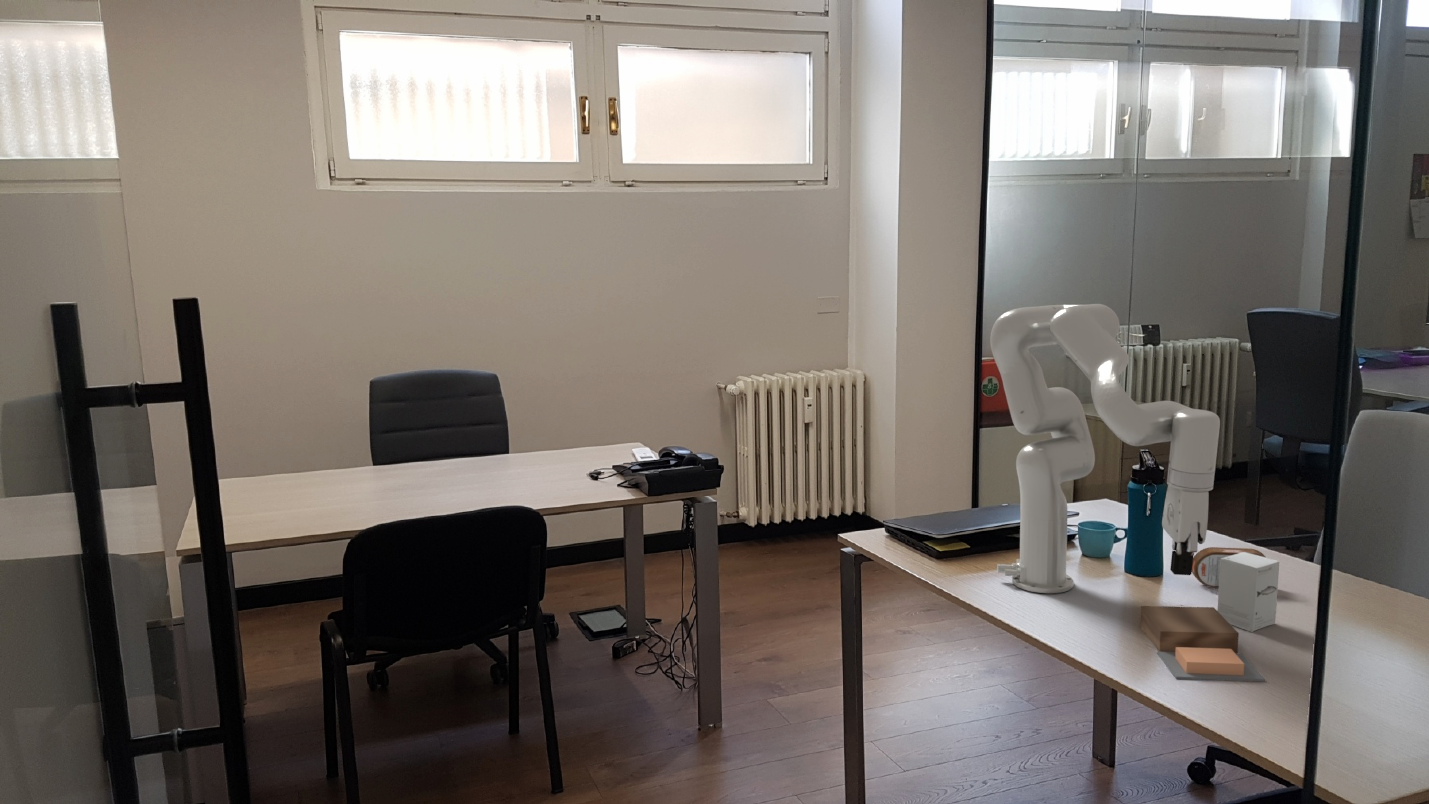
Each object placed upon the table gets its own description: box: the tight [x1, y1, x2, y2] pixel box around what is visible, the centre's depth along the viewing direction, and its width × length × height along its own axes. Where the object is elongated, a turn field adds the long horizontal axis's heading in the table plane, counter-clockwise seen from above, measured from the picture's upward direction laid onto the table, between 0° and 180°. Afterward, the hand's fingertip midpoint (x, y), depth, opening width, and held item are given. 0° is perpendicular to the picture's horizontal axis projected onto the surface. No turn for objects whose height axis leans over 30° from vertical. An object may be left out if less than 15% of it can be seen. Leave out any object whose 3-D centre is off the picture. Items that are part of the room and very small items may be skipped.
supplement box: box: [1216, 552, 1280, 633], centre depth 179 cm, size 7×7×13 cm
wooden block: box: [1139, 605, 1239, 654], centre depth 173 cm, size 13×12×4 cm
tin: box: [1192, 546, 1267, 589], centre depth 197 cm, size 15×3×8 cm, turn 78°
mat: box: [1157, 650, 1266, 683], centre depth 162 cm, size 14×10×1 cm
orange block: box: [1175, 647, 1244, 675], centre depth 161 cm, size 9×6×2 cm, turn 80°
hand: (1180, 572), depth 174 cm, fingers closed
